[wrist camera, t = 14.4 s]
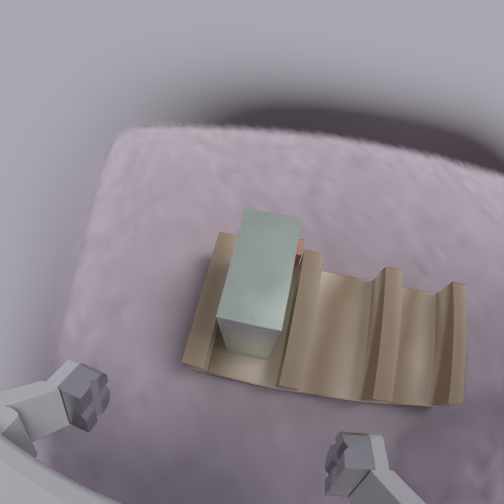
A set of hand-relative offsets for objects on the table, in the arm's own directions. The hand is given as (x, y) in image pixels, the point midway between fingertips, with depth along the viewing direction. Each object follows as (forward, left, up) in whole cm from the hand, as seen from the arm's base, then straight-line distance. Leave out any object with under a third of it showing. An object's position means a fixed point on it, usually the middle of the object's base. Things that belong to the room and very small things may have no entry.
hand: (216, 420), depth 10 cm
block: (-6, -3, -13) cm, 15 cm away
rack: (-10, +2, -15) cm, 18 cm away
